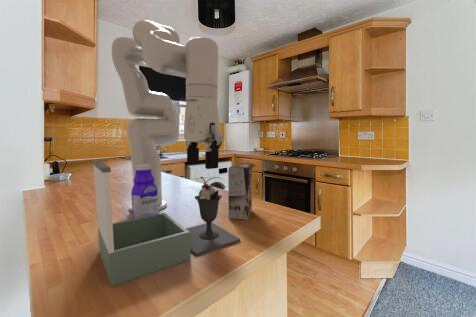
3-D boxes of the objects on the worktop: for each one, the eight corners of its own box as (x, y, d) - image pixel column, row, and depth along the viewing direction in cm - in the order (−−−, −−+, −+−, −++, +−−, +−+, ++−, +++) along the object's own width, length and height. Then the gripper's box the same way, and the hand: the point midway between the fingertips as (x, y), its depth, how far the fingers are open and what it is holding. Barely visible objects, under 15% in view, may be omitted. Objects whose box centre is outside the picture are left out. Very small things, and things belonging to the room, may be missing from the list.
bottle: (141, 228, 66) (138, 167, 64) (129, 224, 69) (126, 165, 67) (162, 220, 72) (160, 164, 71) (150, 217, 75) (147, 162, 74)
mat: (171, 234, 63) (171, 232, 63) (211, 223, 70) (211, 221, 70) (196, 256, 51) (195, 253, 51) (240, 241, 59) (240, 238, 59)
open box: (98, 252, 53) (92, 159, 51) (165, 235, 62) (162, 155, 60) (109, 287, 41) (102, 167, 39) (190, 259, 50) (188, 161, 48)
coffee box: (248, 219, 73) (248, 167, 71) (227, 218, 74) (227, 167, 73) (252, 210, 82) (252, 164, 80) (234, 209, 83) (233, 163, 81)
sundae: (195, 230, 63) (194, 175, 62) (221, 229, 64) (220, 174, 63) (195, 242, 57) (193, 180, 55) (223, 240, 58) (222, 179, 56)
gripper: (173, 96, 62) (174, 162, 64) (205, 89, 48) (205, 172, 50) (199, 99, 66) (199, 160, 68) (235, 92, 52) (234, 169, 55)
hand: (201, 165), depth 59 cm, fingers open, 9 cm apart
